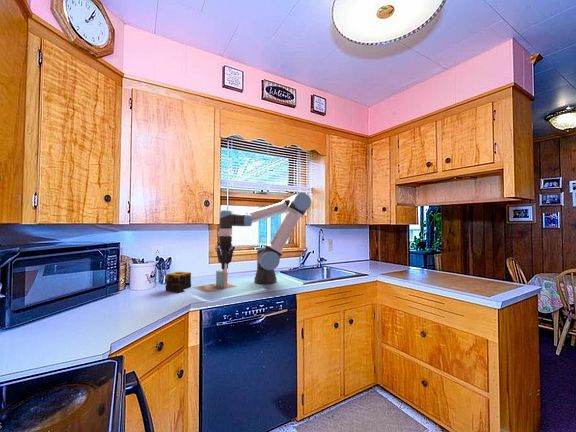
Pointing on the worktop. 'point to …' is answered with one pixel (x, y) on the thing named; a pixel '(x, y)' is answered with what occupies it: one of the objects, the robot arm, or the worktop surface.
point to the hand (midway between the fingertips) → (224, 274)
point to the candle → (178, 281)
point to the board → (212, 287)
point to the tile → (221, 279)
